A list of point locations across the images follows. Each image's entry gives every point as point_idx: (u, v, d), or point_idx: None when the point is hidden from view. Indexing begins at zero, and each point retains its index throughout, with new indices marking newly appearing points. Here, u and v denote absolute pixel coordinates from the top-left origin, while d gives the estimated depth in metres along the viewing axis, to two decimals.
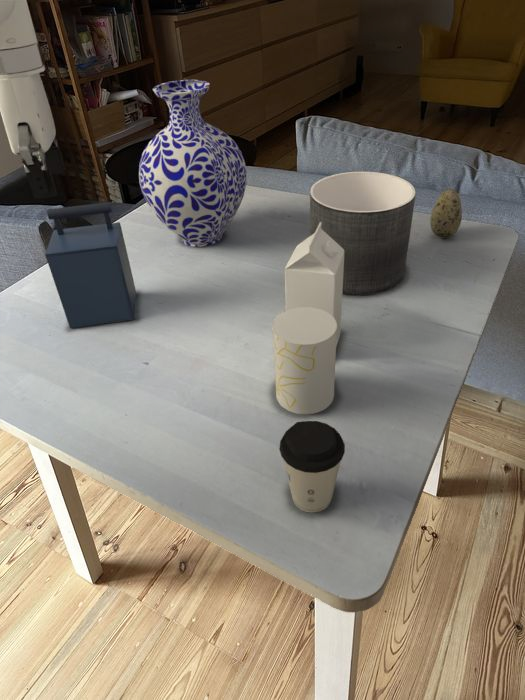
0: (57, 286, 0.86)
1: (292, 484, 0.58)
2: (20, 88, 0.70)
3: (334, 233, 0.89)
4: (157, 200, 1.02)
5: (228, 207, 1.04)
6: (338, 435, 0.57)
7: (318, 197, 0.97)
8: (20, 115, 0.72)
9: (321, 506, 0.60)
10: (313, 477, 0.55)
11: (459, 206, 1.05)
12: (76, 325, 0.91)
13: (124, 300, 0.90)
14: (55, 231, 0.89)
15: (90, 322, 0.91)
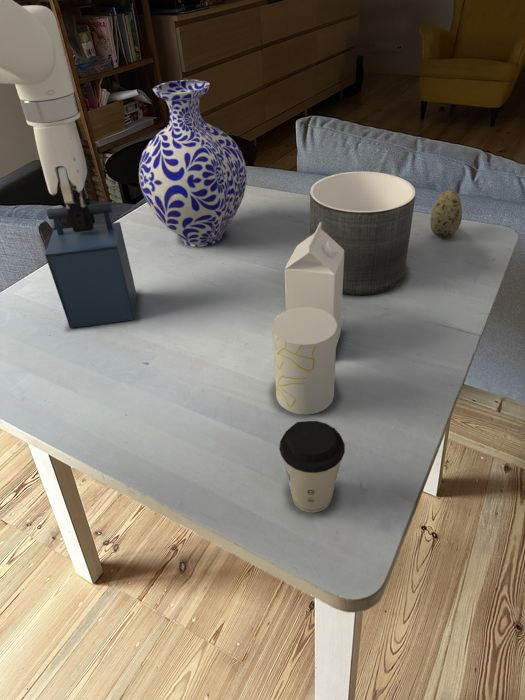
0: (57, 286, 0.86)
1: (292, 484, 0.58)
2: (58, 135, 0.75)
3: (334, 233, 0.89)
4: (157, 200, 1.02)
5: (228, 207, 1.04)
6: (338, 435, 0.57)
7: (318, 197, 0.97)
8: (58, 159, 0.77)
9: (321, 506, 0.60)
10: (313, 477, 0.55)
11: (459, 206, 1.05)
12: (76, 325, 0.91)
13: (124, 300, 0.90)
14: (55, 231, 0.89)
15: (90, 322, 0.91)
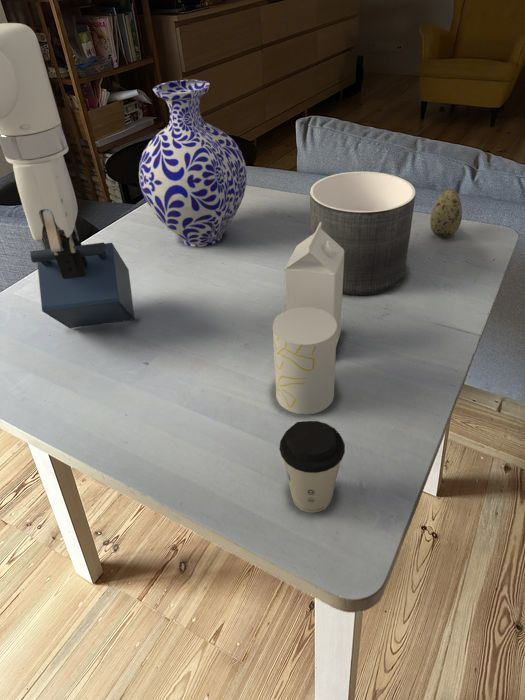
0: (56, 318, 0.83)
1: (292, 484, 0.58)
2: (42, 174, 0.64)
3: (334, 233, 0.89)
4: (157, 200, 1.02)
5: (228, 207, 1.04)
6: (338, 435, 0.57)
7: (318, 197, 0.97)
8: (42, 202, 0.65)
9: (321, 506, 0.60)
10: (313, 477, 0.55)
11: (459, 206, 1.05)
12: (76, 327, 0.91)
13: (125, 315, 0.88)
14: None
15: (90, 324, 0.91)
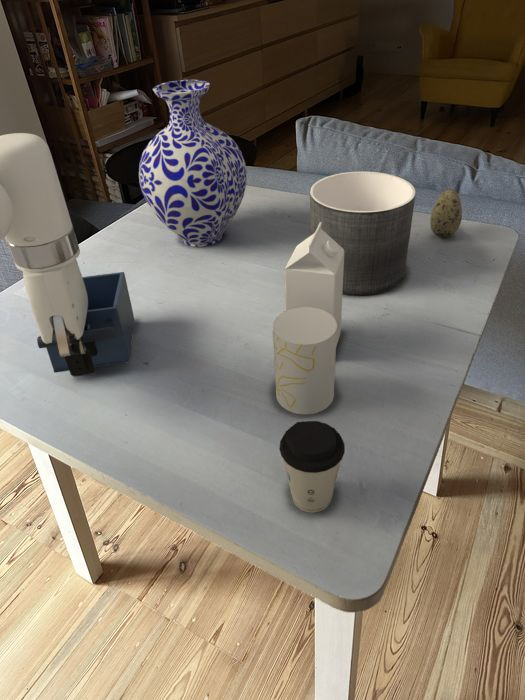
0: None
1: (292, 484, 0.58)
2: (53, 283, 0.62)
3: (334, 233, 0.89)
4: (157, 200, 1.02)
5: (228, 207, 1.04)
6: (338, 435, 0.57)
7: (318, 197, 0.97)
8: (53, 308, 0.63)
9: (321, 506, 0.60)
10: (313, 477, 0.55)
11: (459, 206, 1.05)
12: None
13: None
14: None
15: None
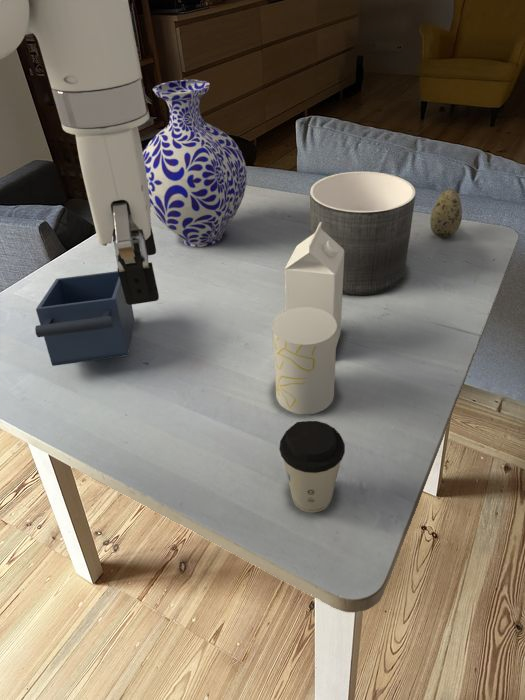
0: None
1: (292, 484, 0.58)
2: (119, 149, 0.44)
3: (334, 233, 0.89)
4: (157, 200, 1.02)
5: (228, 207, 1.04)
6: (338, 435, 0.57)
7: (318, 197, 0.97)
8: (116, 190, 0.46)
9: (321, 506, 0.60)
10: (313, 477, 0.55)
11: (459, 206, 1.05)
12: None
13: None
14: (40, 313, 0.75)
15: None
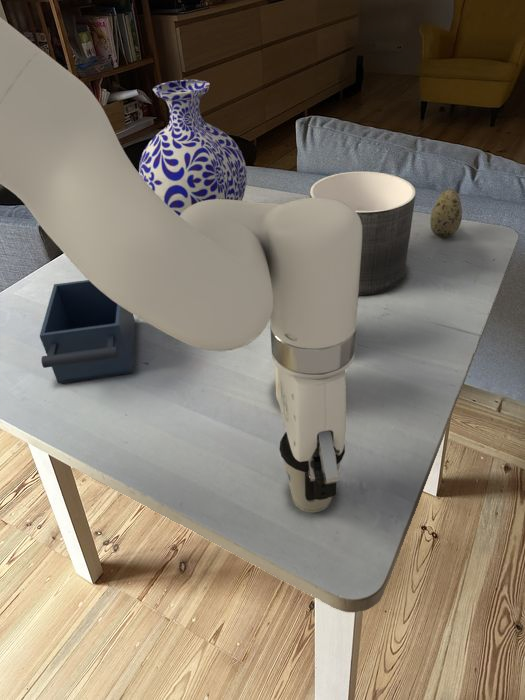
0: None
1: (292, 484, 0.58)
2: (335, 392, 0.46)
3: None
4: None
5: None
6: None
7: (318, 197, 0.97)
8: (324, 422, 0.48)
9: (321, 506, 0.60)
10: None
11: (459, 206, 1.05)
12: None
13: None
14: (44, 339, 0.75)
15: None
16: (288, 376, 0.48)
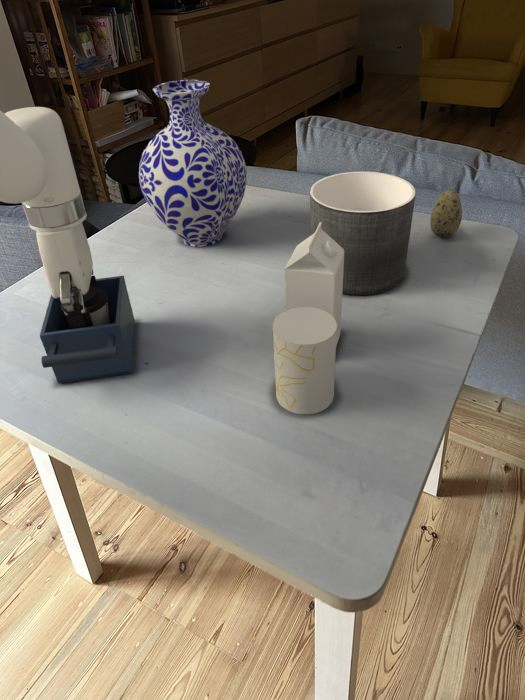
0: None
1: None
2: (63, 241, 0.69)
3: (334, 233, 0.89)
4: (157, 200, 1.02)
5: (228, 207, 1.04)
6: (104, 294, 0.81)
7: (318, 197, 0.97)
8: (62, 265, 0.71)
9: None
10: None
11: (459, 206, 1.05)
12: None
13: None
14: (44, 339, 0.75)
15: None
16: None
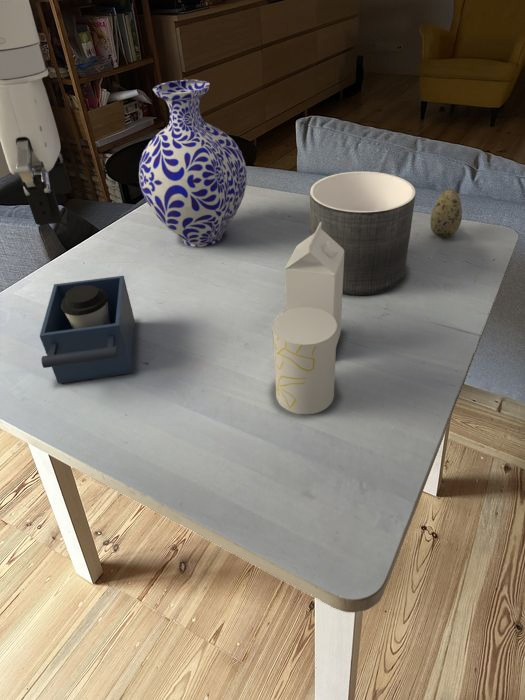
0: None
1: None
2: (19, 97, 0.59)
3: (334, 233, 0.89)
4: (157, 200, 1.02)
5: (228, 207, 1.04)
6: (104, 294, 0.81)
7: (318, 197, 0.97)
8: (19, 128, 0.60)
9: None
10: (80, 321, 0.79)
11: (459, 206, 1.05)
12: None
13: None
14: (44, 339, 0.75)
15: None
16: None
